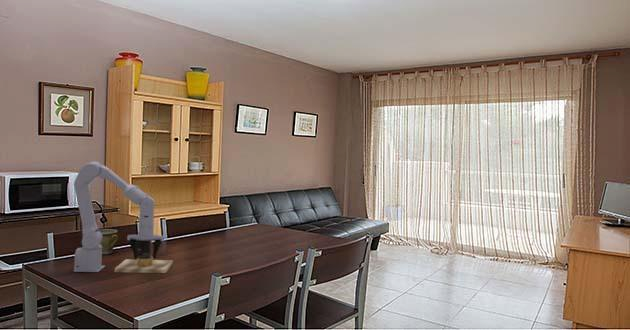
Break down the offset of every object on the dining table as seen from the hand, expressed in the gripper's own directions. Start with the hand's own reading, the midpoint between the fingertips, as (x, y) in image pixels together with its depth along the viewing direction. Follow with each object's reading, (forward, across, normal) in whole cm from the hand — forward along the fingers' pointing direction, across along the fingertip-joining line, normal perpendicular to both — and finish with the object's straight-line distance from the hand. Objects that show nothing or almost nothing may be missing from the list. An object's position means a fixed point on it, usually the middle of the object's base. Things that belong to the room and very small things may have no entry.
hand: (145, 257), depth 185 cm
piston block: (+4, 0, 0) cm, 4 cm away
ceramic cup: (+5, -23, +23) cm, 33 cm away
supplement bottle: (+5, -5, +16) cm, 17 cm away
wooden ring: (+3, 0, 0) cm, 3 cm away
